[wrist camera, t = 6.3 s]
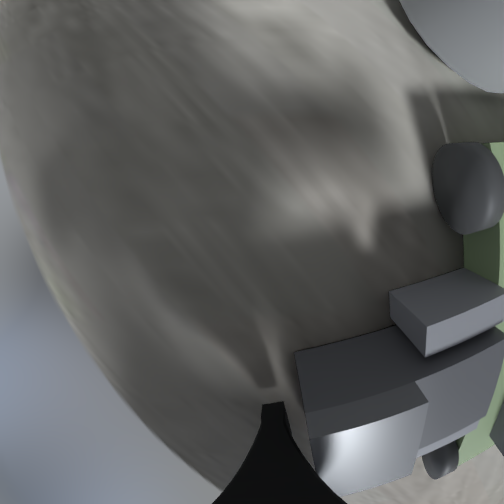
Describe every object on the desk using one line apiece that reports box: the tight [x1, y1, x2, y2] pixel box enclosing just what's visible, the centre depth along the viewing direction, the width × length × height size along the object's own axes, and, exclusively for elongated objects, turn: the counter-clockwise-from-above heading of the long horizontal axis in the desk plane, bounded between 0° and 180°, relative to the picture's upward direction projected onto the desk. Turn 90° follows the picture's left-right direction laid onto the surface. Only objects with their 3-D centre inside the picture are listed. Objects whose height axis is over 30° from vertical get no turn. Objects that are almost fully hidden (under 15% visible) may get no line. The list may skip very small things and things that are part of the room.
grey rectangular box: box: [294, 325, 504, 497], centre depth 9 cm, size 4×8×5 cm, turn 103°
